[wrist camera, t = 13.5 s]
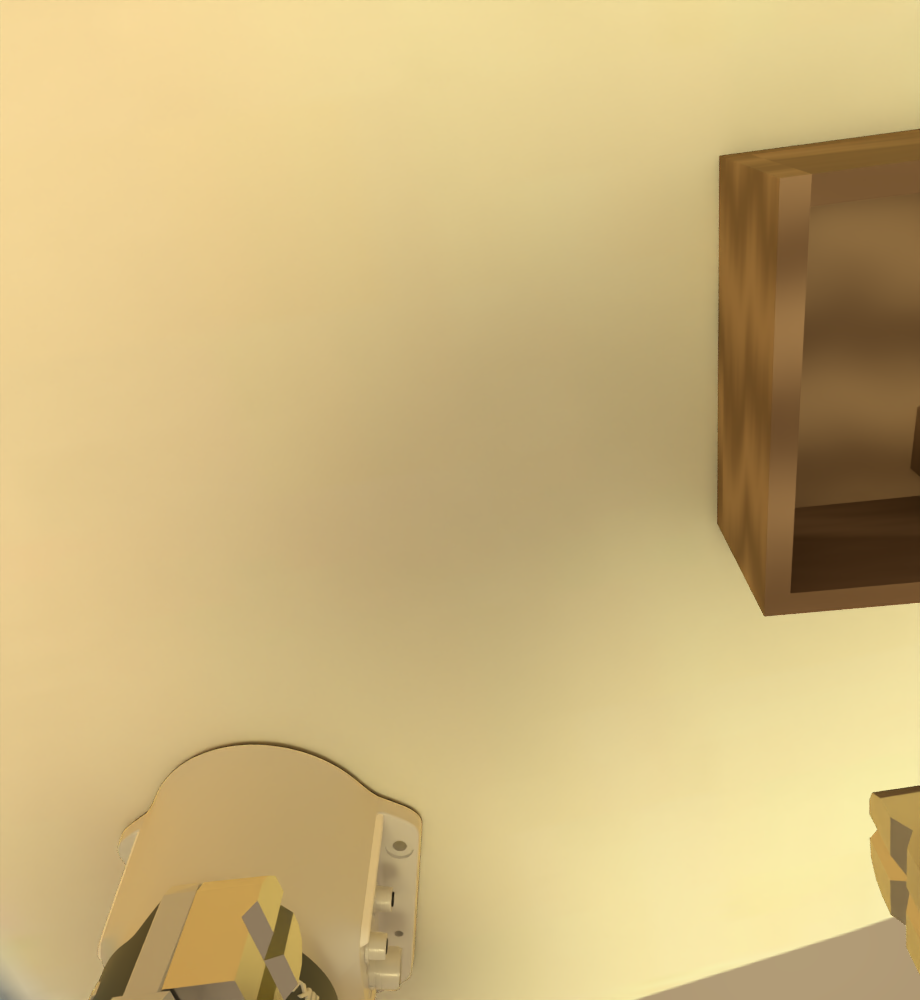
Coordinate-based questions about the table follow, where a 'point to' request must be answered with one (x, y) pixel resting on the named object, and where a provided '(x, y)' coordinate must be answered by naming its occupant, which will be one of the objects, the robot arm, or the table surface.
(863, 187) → the wooden box
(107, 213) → the table surface
